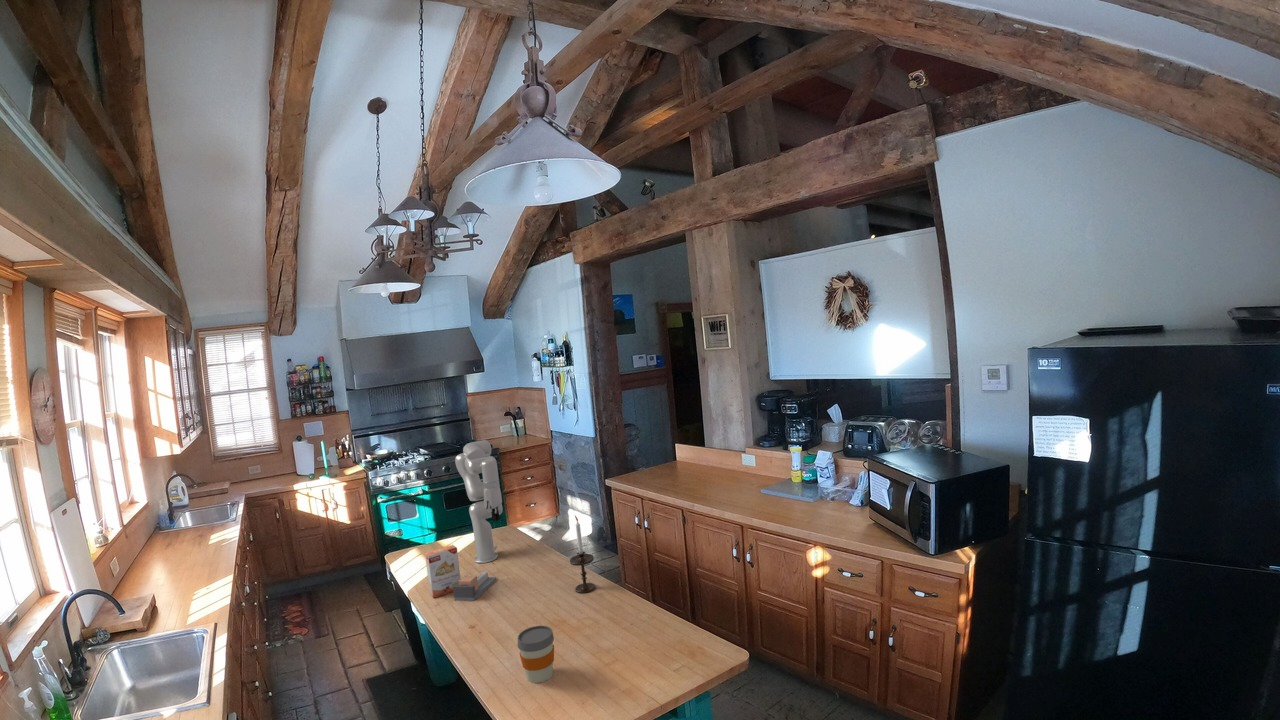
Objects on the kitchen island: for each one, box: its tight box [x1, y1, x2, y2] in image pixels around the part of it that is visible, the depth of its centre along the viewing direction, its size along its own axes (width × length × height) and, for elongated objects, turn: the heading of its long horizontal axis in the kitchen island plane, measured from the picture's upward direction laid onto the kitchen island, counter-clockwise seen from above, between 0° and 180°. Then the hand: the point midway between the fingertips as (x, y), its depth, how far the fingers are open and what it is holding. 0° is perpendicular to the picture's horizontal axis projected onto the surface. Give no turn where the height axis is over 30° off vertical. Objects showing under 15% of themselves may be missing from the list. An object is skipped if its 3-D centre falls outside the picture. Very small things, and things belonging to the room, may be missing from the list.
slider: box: [458, 575, 478, 592], centre depth 286 cm, size 6×6×7 cm
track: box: [453, 571, 498, 602], centre depth 292 cm, size 22×10×6 cm, turn 165°
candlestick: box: [569, 515, 596, 595], centre depth 279 cm, size 11×11×35 cm
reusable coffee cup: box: [517, 625, 555, 684], centre depth 213 cm, size 13×13×15 cm
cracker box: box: [424, 544, 462, 599], centre depth 293 cm, size 14×6×21 cm, turn 125°
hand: (496, 520), depth 303 cm, fingers closed
